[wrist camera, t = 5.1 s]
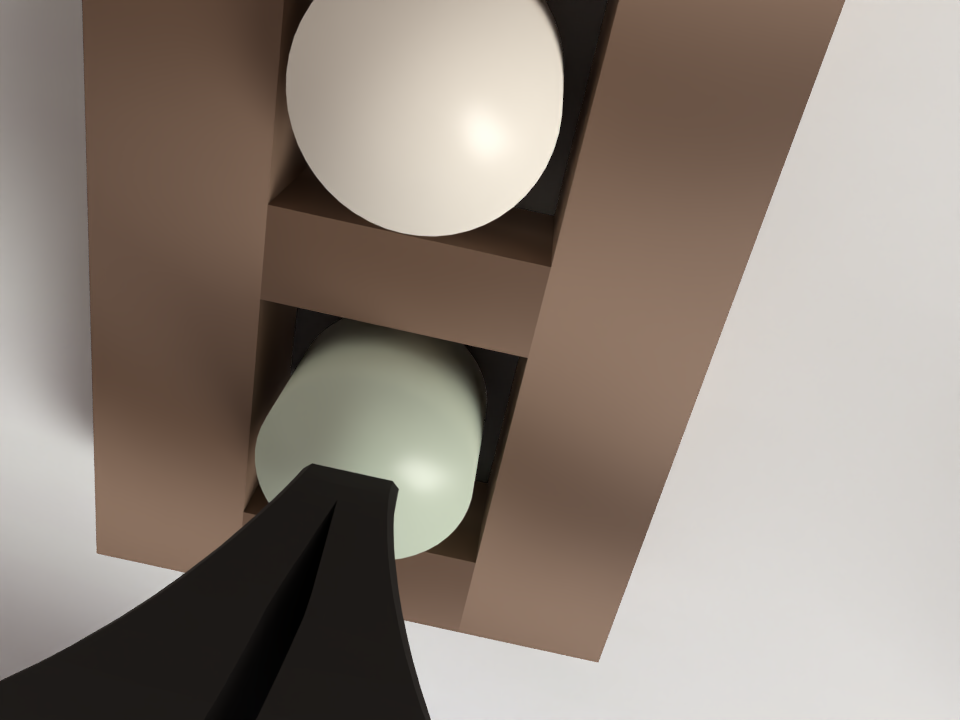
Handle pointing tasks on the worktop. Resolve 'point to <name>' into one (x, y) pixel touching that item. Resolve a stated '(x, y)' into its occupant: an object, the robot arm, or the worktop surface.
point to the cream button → (426, 106)
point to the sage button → (383, 423)
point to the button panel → (427, 289)
